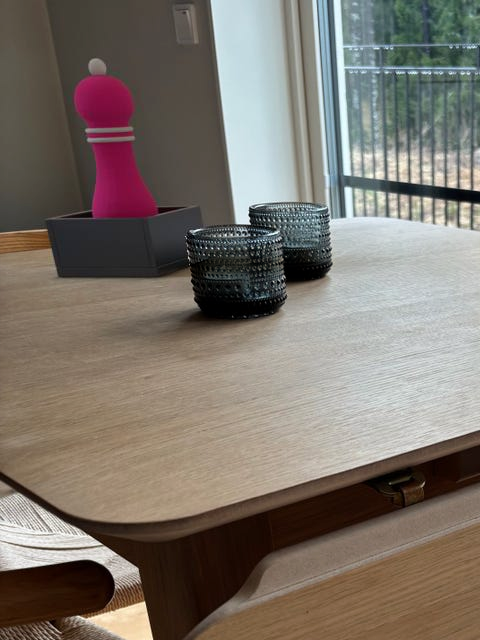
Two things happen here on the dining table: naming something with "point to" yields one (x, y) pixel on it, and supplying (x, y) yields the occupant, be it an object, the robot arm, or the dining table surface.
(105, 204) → the pepper mill
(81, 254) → the basin
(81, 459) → the dining table surface
